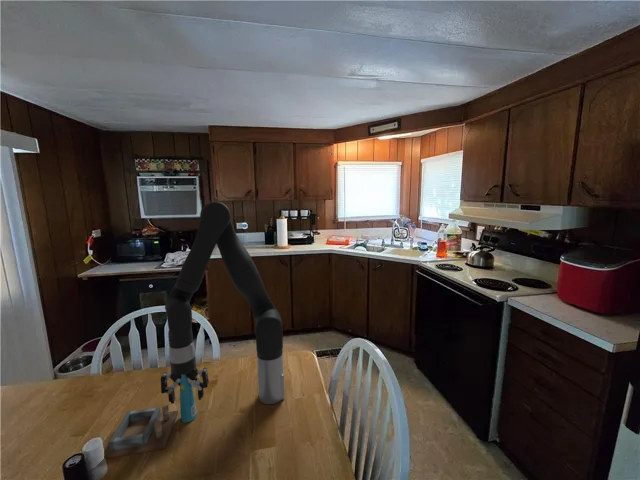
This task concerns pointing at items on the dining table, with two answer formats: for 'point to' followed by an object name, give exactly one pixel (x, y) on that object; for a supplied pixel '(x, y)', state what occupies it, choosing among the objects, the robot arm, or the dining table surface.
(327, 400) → the dining table surface
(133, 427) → the socket board
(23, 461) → the dining table surface
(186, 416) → the tube
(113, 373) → the dining table surface
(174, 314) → the robot arm
